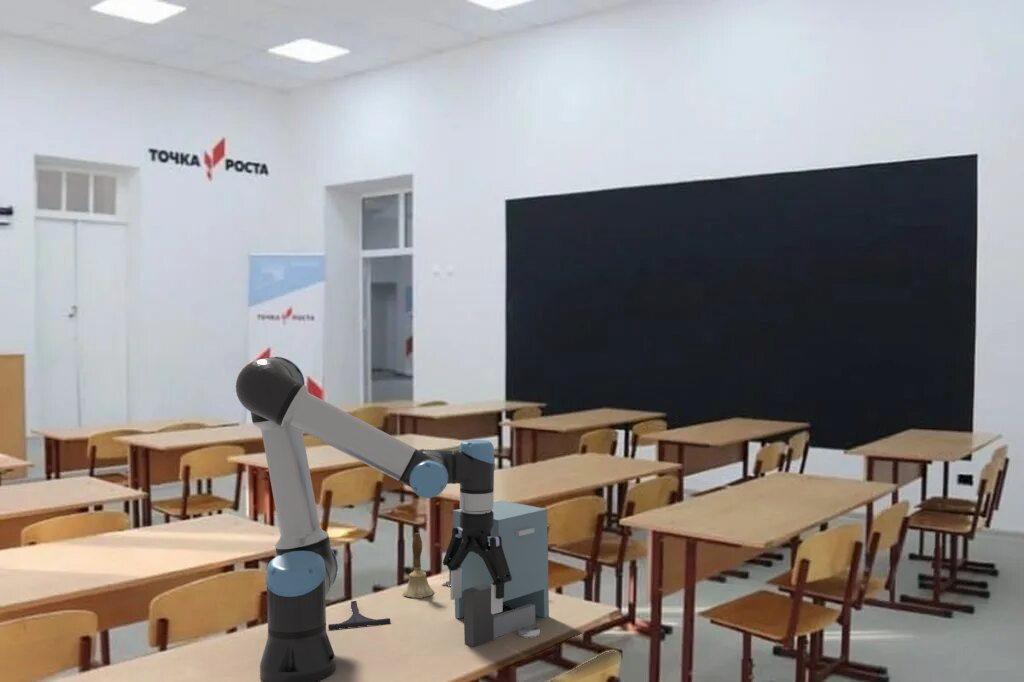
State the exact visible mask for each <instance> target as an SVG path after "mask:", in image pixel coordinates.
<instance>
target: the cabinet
mask: <svg viewBox="0 0 1024 682" xmlns="http://www.w3.org/2000/svg"><path fill="white" fill-rule="evenodd" d="M461 511H462V510H461V509H460V508H459V509H453V510H452V525H453V528H456V527H460V512H461ZM492 511H493V513H494V522H493V528H492V529H491V531H490V533H491V536H492V537H496V536H501V539H502V548H503V551H504V554H505V558H506V561H507V564H508V567H509V571H510V574H511V577H512V580H511V581H509V582H505V584H504V598H503V606H504V605H505V607H507V606H509V607H508V608H511V607H512V608H511V609H514V608H515V609H516V608H519V607H522V606H525V605H528V604H533V605H535V617H536V616H537V617H540V618H543V619H546V618H549V617H550V605H549V604H550V603H549V602H550V599H549V594H550V593H549V552H548V551H549V545H548V543H549V542H548V541H549V540H548V535H549V534H548V509H547V508H543V507H538V506H534V505H527V504H523V503H517V502H511V501H508V500H507V501H506V500H497V501H493V509H492ZM453 528H452V529H453ZM462 542H463V540H462ZM462 542H461V543H462ZM486 551H488V550H486ZM458 569H462V598H458V599H454V618H455V617H456V618H455V619H457V618H459V619H458V620H461V619H464V618H463V617H464V590H465V589H469V588H472V587H476V586H479V585H483V584H485V585H488V586H491V584H492V583H493V582H494V581H493V579H492V577H491V575H490V573H489V571H488V568H487V566H486V564H485V562H484V560H483V558H482V557H480V556H479V554H476V553H474V552H469V553H468V555H467V556H466V558H465V559H464V561H463V562H462V564H461V566H460V568H458ZM498 578H499V576H498ZM460 618H461V619H460Z"/></svg>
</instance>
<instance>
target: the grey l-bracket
mask: <svg viewBox="0 0 1024 682" xmlns="http://www.w3.org/2000/svg"><path fill="white" fill-rule="evenodd" d="M463 622H464V623H463V625H464V626H463V627H464V628H463V629H464V644H465V645H467V646H469V647H472V648H475V647H478V646H480V645H485V644H487V643H491V642H493V641H494V639H497V638H499V636H500V637H502V636H506V635H508V634H511V633H514V632H516V630H517V631H518V629H519V628H522V627H532V626H534V625H536V615H535V605H533V604H528V605H525V606H522V607H519V608H516V609H514V608H511V609H510V610H508V611H507V610H506V611H504V612H500V613H496V614H491V586H488V585H485V584H483V585H479V586H476V587H472V588H469V589H465V590H464V618H463ZM496 637H497V638H496Z"/></svg>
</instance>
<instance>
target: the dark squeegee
mask: <svg viewBox="0 0 1024 682" xmlns="http://www.w3.org/2000/svg"><path fill="white" fill-rule="evenodd" d="M357 603H358V601H357V600H352V601H350V608H351V609H352V610H351V613H352V612H353V613H352V615H351V616H350V617H349V618H348V619H346V620H345V621H342V622H340V623H331V624H330V623H329V624H328V626H327V627H328V631H334V630H333V629H336V630H340V629H339V628H345V629H349V628H348V627H355V628H359V627H358V626H364V627H368V626H367V625H373V626H381V625H391V618H390V617H389V618H388V617H387V618H379V619H375V618H370V617H366V616H365V615H363V614H361V613H360V612H359V606H358V604H357ZM379 624H381V625H379Z"/></svg>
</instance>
